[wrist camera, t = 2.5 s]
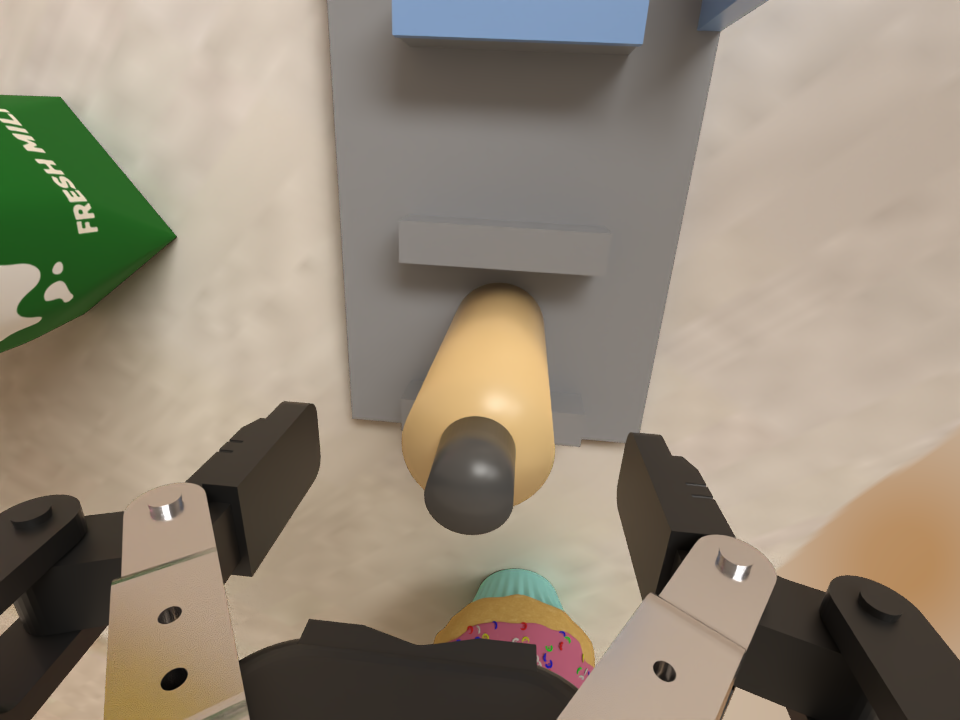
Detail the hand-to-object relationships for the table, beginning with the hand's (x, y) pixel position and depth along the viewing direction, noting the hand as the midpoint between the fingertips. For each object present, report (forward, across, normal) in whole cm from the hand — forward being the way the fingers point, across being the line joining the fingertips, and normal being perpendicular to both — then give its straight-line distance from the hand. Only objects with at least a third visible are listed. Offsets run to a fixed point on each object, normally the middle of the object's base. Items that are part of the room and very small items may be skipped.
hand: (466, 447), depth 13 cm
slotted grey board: (+11, 0, -8) cm, 13 cm away
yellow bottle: (+10, 0, 0) cm, 10 cm away
